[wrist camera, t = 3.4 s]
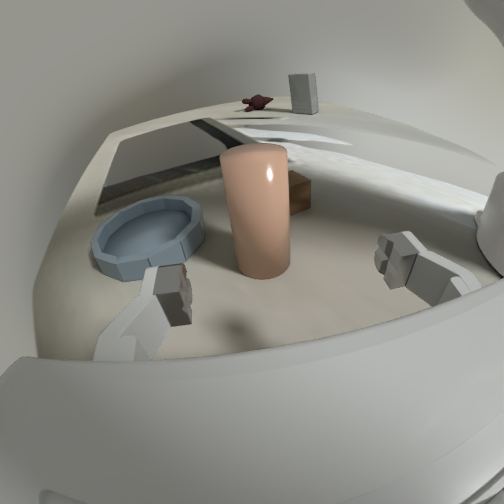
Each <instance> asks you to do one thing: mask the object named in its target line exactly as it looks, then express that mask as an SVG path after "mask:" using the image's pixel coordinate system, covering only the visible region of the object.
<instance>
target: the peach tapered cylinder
mask: <svg viewBox="0 0 504 504" xmlns="http://www.w3.org/2000/svg"><path fill="white" fill-rule="evenodd" d="M220 162H221V168H222V174H223V181H224V187H225V193H226V199H227V205H228V211H229V217H230V223H231V229H232V235H233V240H234V246H235V252H236V258H237V263H238V267H239V270H240V271H241V272H242V273H243V274H244V275H246V276H248V277H250V278H254V279H270V278H274V277H277V276H279V275H281V274H282V273H284V272H285V271H286V270H287V268H288V267H289V265H290V213H289V183H288V159H287V150H286V148H284V147H283V146H280V145H276V144H269V143H254V144H246V145H241V146H237V147H233V148H231V149H228V150H226V151H224V152H223V153H222V154H221V155H220Z"/></svg>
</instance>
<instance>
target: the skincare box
mask: <svg viewBox="0 0 504 504" xmlns="http://www.w3.org/2000/svg"><path fill="white" fill-rule="evenodd" d="M288 77H289V84H290V92H291V101H292V110H293V113H300V114H314V113H317V112H318V111H319V108H318V97H317V87H316V77H315V73H301V74H289V75H288Z"/></svg>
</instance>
